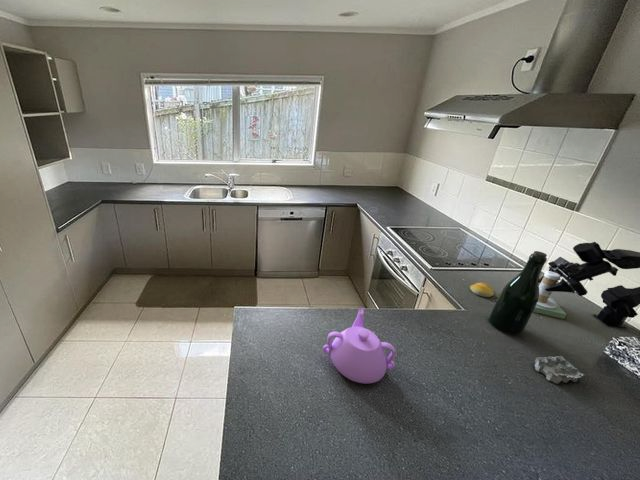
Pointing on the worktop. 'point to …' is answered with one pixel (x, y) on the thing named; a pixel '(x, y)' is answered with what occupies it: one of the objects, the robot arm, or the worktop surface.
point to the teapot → (359, 353)
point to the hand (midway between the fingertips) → (541, 285)
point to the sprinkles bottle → (547, 285)
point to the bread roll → (482, 289)
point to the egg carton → (557, 369)
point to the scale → (550, 308)
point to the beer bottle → (519, 297)
